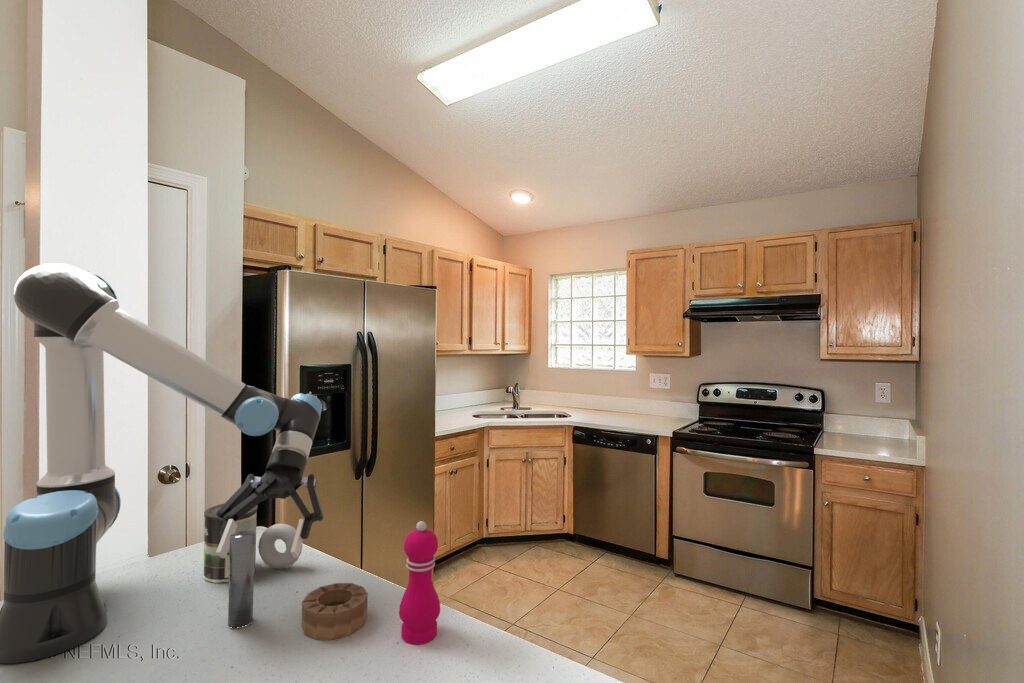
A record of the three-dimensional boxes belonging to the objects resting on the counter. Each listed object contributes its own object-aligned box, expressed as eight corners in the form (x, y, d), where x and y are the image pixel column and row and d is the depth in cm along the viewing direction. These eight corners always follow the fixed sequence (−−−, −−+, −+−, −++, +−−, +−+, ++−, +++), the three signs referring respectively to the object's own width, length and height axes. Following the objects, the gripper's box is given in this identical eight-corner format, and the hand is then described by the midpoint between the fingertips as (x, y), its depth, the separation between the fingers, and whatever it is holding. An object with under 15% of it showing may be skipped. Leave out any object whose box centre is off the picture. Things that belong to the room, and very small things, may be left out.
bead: (292, 639, 86) (293, 613, 86) (315, 606, 97) (315, 583, 97) (357, 639, 87) (357, 613, 87) (372, 606, 98) (372, 583, 98)
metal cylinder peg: (223, 628, 89) (225, 539, 89) (234, 616, 93) (236, 530, 93) (246, 628, 89) (248, 539, 89) (256, 616, 93) (258, 530, 93)
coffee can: (196, 586, 104) (197, 518, 104) (210, 564, 114) (211, 503, 114) (251, 580, 107) (252, 514, 107) (260, 559, 117) (261, 499, 117)
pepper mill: (399, 649, 84) (401, 530, 84) (397, 625, 91) (399, 516, 91) (442, 643, 86) (444, 527, 86) (437, 620, 93) (439, 513, 93)
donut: (304, 566, 114) (305, 522, 114) (297, 573, 111) (297, 528, 111) (263, 563, 115) (264, 520, 115) (254, 570, 112) (255, 525, 112)
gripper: (350, 466, 113) (328, 562, 98) (236, 465, 112) (197, 563, 97) (344, 448, 108) (320, 546, 93) (224, 447, 106) (181, 547, 91)
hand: (257, 555), depth 95 cm, fingers open, 13 cm apart
